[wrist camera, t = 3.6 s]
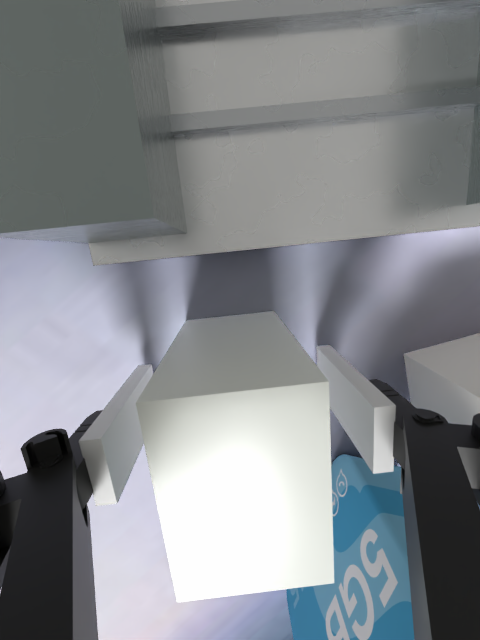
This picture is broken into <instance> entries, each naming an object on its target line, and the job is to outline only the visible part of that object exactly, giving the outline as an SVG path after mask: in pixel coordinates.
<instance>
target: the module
mask: <svg viewBox="0 0 480 640" xmlns="http://www.w3.org/2000/svg"><path fill="white" fill-rule="evenodd" d="M136 407H137V412H138V417H139V422H140V426H141V431H142V436H143V441H144V446H145V450H146V455H147V460H148V465H149V470H150V475H151V479H152V484H153V489H154V494H155V499H156V503H157V508H158V513H159V518H160V523H161V527H162V532H163V537H164V542H165V547H166V552H167V556H168V561H169V566H170V571H171V576H172V580H173V585H174V590H175V595H176V600H177V603H178V602H186V601H194V600H202V599H210V598H218V597H227V596H235V595H243V594H251V593H259V592H267V591H275V590H283V589H292V588H300V587H308V586H316V585H324V584H332V583H334V551H333V513H332V475H331V437H330V399H329V381H328V379H327V378H326V377H325V376H324V374H323V373H322V372H321V371H320V369H319V368H318V367H317V365H316V364H315V363H314V362H313V360H312V359H311V358H310V356H309V355H308V354H307V353H306V351H305V350H304V349H303V347H302V346H301V345H300V344H299V342H298V341H297V340H296V338H295V337H294V336H293V335H292V333H291V332H290V331H289V330H288V328H287V327H286V326H285V324H284V323H283V322H282V321H281V319H280V318H279V317H278V315H277V314H276V313H275V312H274V311H269V312H259V313H250V314H240V315H231V316H222V317H212V318H203V319H193V320H186V321H185V323H184V325H183V326H182V328H181V329H180V331H179V333H178V334H177V336H176V338H175V339H174V341H173V343H172V344H171V346H170V347H169V349H168V351H167V352H166V354H165V356H164V357H163V359H162V361H161V362H160V364H159V365H158V367H157V369H156V370H155V372H154V374H153V375H152V377H151V379H150V380H149V382H148V383H147V385H146V387H145V388H144V390H143V392H142V393H141V395H140V396H139V398H138V400H137V401H136Z"/></svg>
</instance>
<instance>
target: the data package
mask: <svg viewBox="0 0 480 640" xmlns="http://www.w3.org/2000/svg"><path fill="white" fill-rule="evenodd" d="M331 475H332V513H333V551H334V583H332V584H324V585H316V586H308V587H300V588H292V589H287V602H288V609H289V614H290V620H291V626H292V632H293V638H294V640H414V628H413V616H412V604H411V592H410V580H409V568H408V556H407V544H406V532H405V521H404V509H403V497H402V494H400V482H401V467H399V466H394V471H393V472H385V473H376V474H373V473H372V471H371V470H370V468H369V467H368V465H367V464H366V462H365V460H364V459H363V458H359V457H355V456H351V455H346V454H343V455H340V456H338V457H337V458H336V459H335V460H334V462H333V464H332V466H331Z"/></svg>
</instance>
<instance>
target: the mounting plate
mask: <svg viewBox="0 0 480 640" xmlns="http://www.w3.org/2000/svg"><path fill="white" fill-rule="evenodd" d="M476 226H480V0H0V238H10V239H26V240H43V241H59V242H75V243H89V248H90V252H91V257H92V261H93V266H94V265H104V264H114V263H124V262H134V261H143V260H153V259H163V258H173V257H182V256H192V255H202V254H212V253H221V252H231V251H241V250H251V249H261V248H270V247H280V246H290V245H300V244H309V243H319V242H329V241H339V240H349V239H358V238H368V237H378V236H388V235H397V234H407V233H417V232H427V231H437V230H446V229H456V228H466V227H476Z"/></svg>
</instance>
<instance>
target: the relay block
mask: <svg viewBox="0 0 480 640" xmlns="http://www.w3.org/2000/svg"><path fill="white" fill-rule="evenodd" d="M404 361H405V367H406V374H407V381H408V388H409V395H410V402H411V404H412V405H413V406H414V407H416V408H419V409H426V410H431V411H433V412H436V413H439V414H440V415H442V416H443V417H445V419H446V420H447V421H448V423H451V424H463V425H472V420H473V416H474V415H476V414H478V413H480V333H477V334H474V335H470V336H466V337H463V338H459V339H455V340H452V341H448V342H445V343H441V344H437V345H434V346H430V347H426V348H423V349H419V350H415V351H412V352H408V353H405V354H404Z"/></svg>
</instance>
